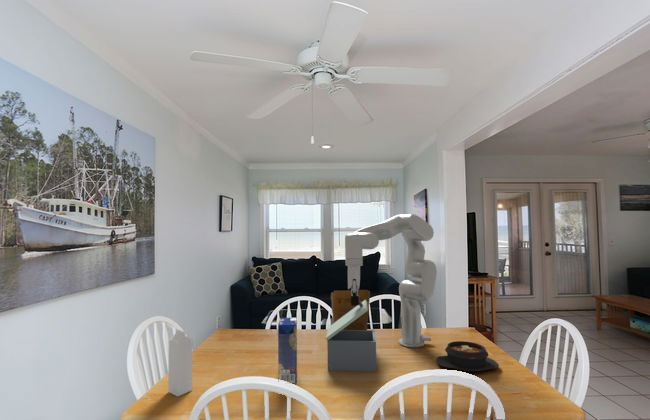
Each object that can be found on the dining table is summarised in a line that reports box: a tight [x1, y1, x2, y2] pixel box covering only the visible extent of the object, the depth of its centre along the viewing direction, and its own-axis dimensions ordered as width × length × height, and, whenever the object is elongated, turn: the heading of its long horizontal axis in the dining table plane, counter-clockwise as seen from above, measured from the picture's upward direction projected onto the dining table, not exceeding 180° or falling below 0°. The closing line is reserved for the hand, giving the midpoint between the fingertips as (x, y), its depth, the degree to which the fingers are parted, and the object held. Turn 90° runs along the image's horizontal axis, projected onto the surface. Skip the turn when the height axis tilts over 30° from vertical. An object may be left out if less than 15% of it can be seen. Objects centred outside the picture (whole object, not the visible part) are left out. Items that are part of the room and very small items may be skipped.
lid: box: [325, 295, 368, 342], centre depth 159 cm, size 21×17×7 cm
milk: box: [167, 329, 193, 398], centre depth 134 cm, size 6×6×22 cm
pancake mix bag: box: [330, 289, 371, 330], centre depth 181 cm, size 7×19×28 cm, turn 80°
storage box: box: [326, 329, 377, 373], centre depth 159 cm, size 20×16×12 cm
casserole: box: [435, 340, 500, 373], centre depth 154 cm, size 25×19×8 cm
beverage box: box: [277, 317, 298, 384], centre depth 145 cm, size 7×11×22 cm, turn 3°
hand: (354, 303), depth 159 cm, fingers closed on lid, 5 cm apart
